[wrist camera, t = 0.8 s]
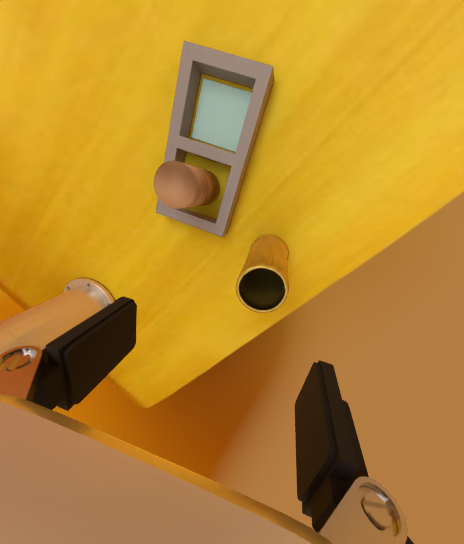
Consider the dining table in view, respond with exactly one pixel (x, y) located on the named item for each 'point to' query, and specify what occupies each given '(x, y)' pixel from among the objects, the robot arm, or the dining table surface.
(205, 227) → the slot rack
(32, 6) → the dining table surface
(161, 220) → the dining table surface
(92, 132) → the dining table surface
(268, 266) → the vase
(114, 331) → the robot arm
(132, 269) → the dining table surface
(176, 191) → the walnut peg
